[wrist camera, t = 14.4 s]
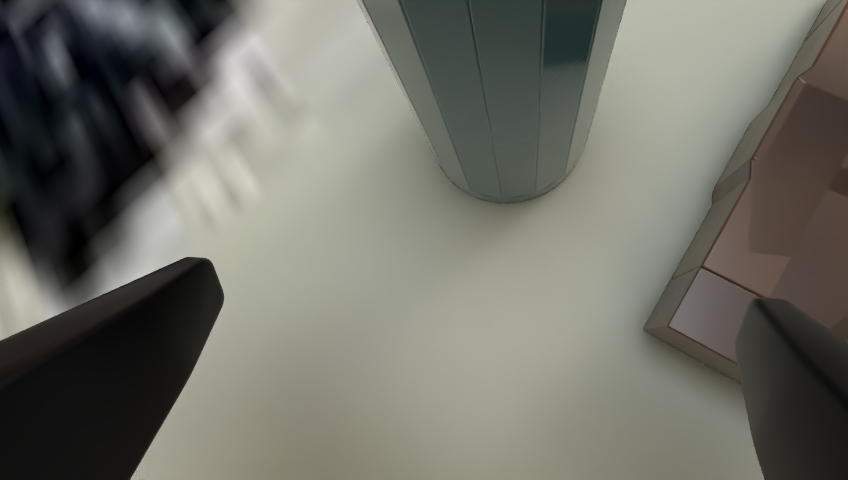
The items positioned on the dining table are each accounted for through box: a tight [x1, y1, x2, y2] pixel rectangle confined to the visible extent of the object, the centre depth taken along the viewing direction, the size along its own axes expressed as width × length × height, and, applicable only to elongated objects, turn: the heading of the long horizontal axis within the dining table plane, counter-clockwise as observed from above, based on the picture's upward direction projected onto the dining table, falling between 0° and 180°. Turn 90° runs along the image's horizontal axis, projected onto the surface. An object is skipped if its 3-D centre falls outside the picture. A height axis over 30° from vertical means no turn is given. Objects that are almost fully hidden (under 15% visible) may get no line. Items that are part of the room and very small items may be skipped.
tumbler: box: [356, 0, 627, 203], centre depth 14 cm, size 6×6×13 cm
